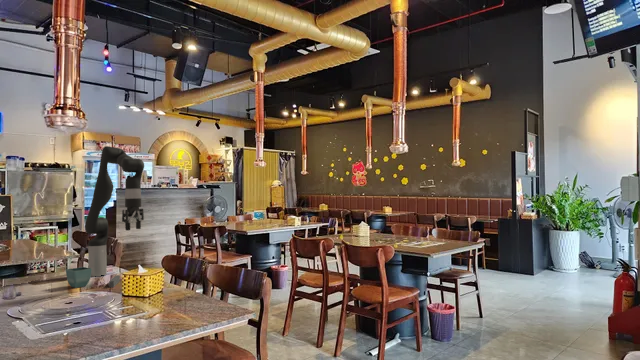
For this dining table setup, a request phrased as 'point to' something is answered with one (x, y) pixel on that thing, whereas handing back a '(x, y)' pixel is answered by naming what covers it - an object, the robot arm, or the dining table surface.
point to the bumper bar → (114, 281)
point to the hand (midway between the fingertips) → (133, 229)
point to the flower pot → (78, 276)
